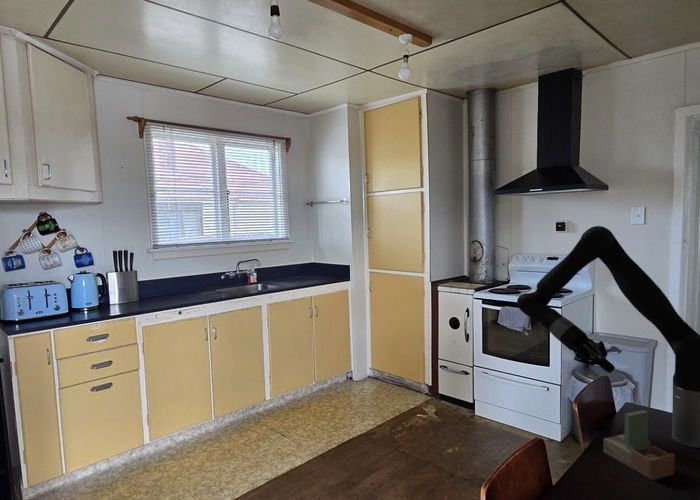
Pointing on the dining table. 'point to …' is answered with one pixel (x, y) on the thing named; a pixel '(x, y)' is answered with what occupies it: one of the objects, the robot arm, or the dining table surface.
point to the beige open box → (620, 449)
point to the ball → (650, 456)
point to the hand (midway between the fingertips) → (612, 370)
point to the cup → (654, 463)
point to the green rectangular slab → (637, 430)
